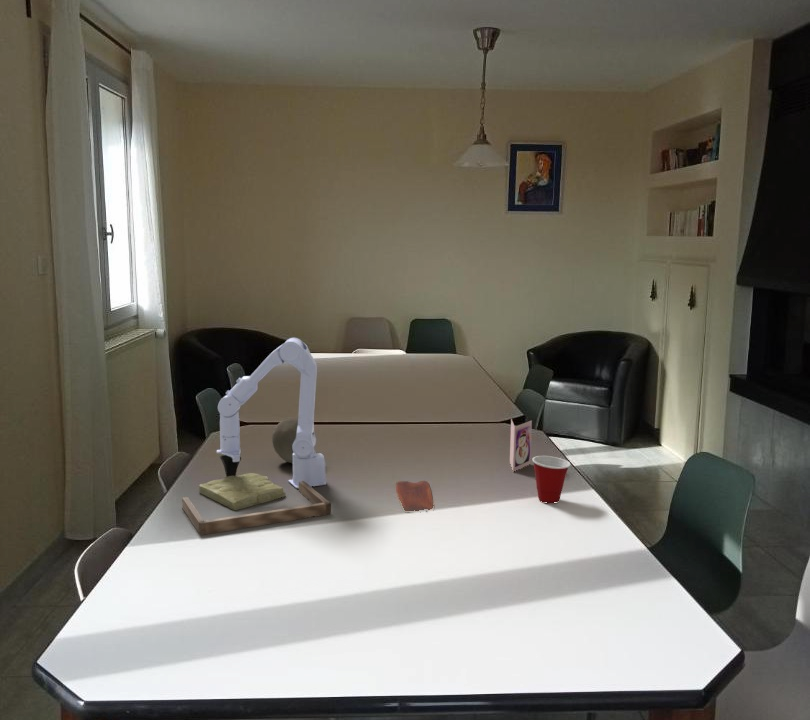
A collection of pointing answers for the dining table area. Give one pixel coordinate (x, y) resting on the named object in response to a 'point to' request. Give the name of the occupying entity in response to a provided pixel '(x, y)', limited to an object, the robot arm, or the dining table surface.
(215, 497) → the decorative tile
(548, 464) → the plastic cup
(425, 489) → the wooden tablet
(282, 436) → the cantaloupe
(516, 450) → the greeting card
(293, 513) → the frame
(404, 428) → the dining table surface
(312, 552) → the dining table surface
